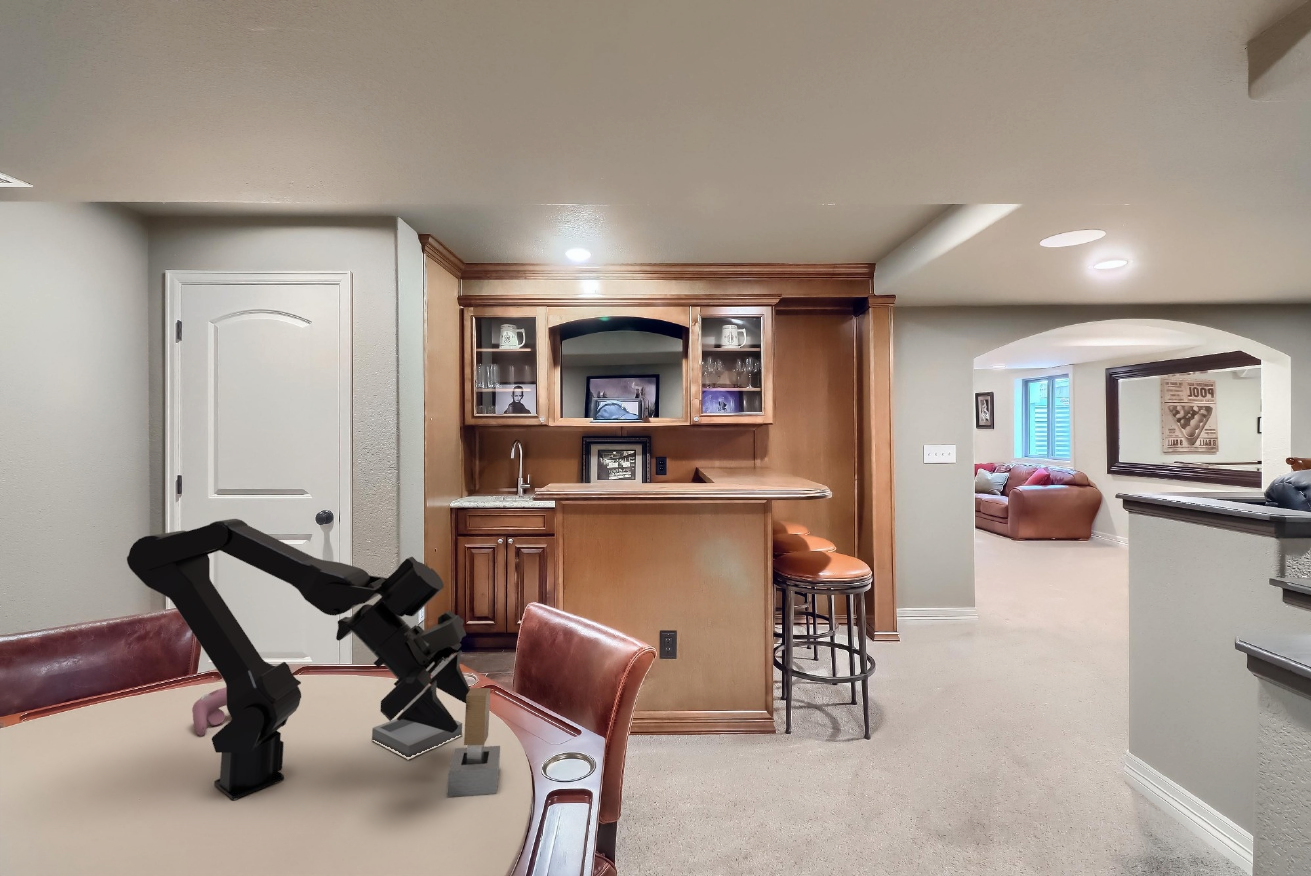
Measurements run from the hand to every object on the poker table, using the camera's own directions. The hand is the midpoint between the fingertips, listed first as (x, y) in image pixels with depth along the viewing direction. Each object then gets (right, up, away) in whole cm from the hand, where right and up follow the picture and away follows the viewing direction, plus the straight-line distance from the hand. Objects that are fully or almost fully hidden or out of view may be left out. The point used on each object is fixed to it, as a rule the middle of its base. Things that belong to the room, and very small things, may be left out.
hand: (464, 715), depth 85 cm
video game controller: (-46, -9, +15) cm, 49 cm away
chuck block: (+2, -10, 0) cm, 10 cm away
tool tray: (-12, -10, +12) cm, 20 cm away
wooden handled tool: (+2, -10, 0) cm, 10 cm away
